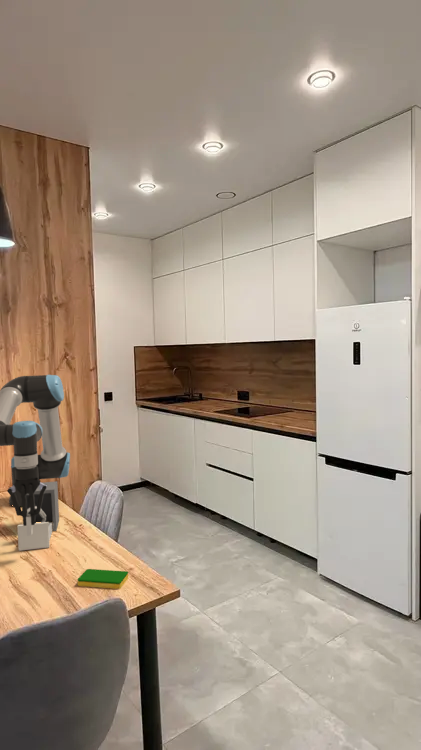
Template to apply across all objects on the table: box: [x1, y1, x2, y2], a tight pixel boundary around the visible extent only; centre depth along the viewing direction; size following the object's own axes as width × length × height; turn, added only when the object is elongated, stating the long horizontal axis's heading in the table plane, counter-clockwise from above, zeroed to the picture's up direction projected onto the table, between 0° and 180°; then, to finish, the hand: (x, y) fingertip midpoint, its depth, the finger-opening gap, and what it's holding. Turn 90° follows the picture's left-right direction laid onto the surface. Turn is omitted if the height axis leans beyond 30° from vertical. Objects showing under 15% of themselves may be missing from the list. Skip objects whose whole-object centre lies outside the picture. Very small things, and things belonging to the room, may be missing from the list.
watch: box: [27, 506, 46, 523], centre depth 179 cm, size 6×8×11 cm
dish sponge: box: [77, 568, 129, 590], centre depth 146 cm, size 7×14×2 cm, turn 79°
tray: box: [17, 522, 53, 552], centre depth 178 cm, size 16×10×9 cm, turn 12°
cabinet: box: [26, 480, 60, 532], centre depth 192 cm, size 12×12×17 cm
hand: (29, 534), depth 163 cm, fingers closed
